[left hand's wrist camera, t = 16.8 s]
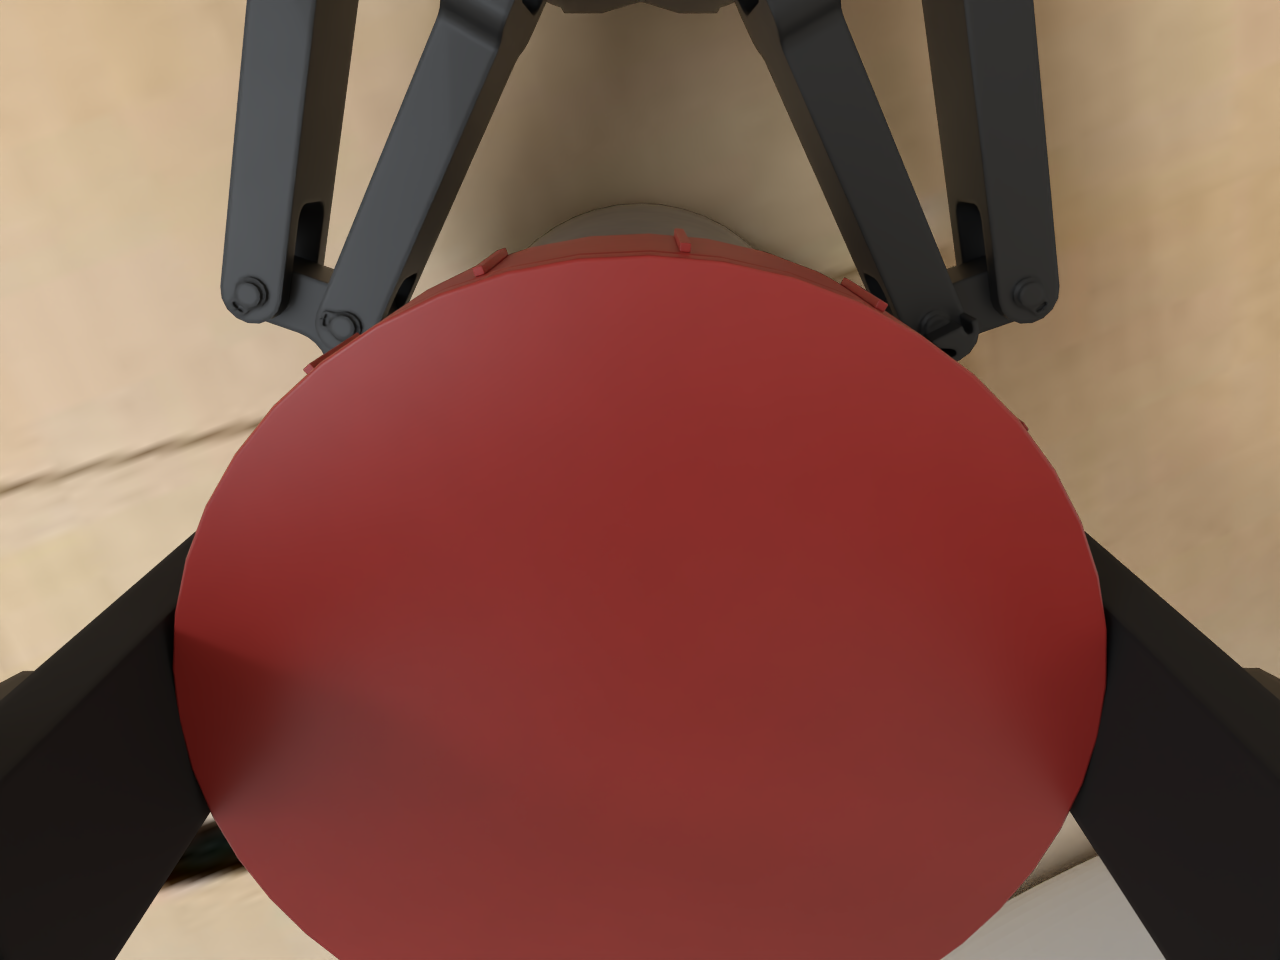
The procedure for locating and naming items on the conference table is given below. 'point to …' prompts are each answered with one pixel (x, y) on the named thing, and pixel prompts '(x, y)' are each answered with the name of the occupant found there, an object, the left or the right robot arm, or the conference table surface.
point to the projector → (1064, 923)
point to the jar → (639, 224)
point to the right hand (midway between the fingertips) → (640, 610)
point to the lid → (640, 624)
